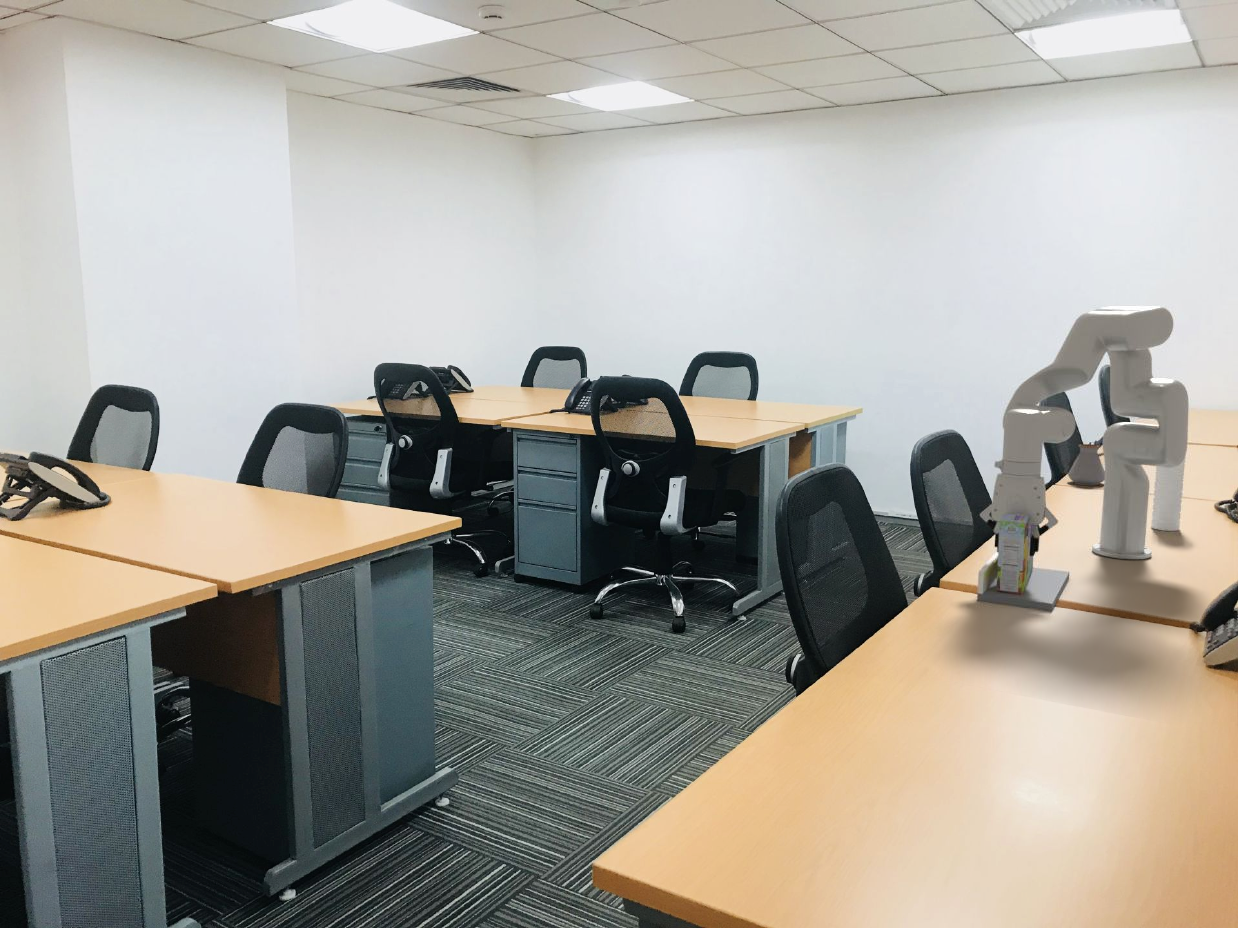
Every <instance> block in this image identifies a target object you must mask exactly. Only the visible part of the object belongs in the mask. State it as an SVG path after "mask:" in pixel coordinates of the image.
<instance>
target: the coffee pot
mask: <svg viewBox="0 0 1238 928" xmlns="http://www.w3.org/2000/svg"><path fill="white" fill-rule="evenodd" d="M1078 447H1079V450H1080V452H1079V454H1078V455H1077V457H1076V458H1075V460H1074V462H1073V464H1072V466H1071V468H1070V469H1069V471H1068V473H1067V475H1068V478H1069V479H1070V481H1072V482H1073V483H1074V484H1076V485H1080V486H1099V485H1100V484H1101V483H1104V480H1105V467H1104V466H1103V464H1102V460H1101V458H1100V457H1104V452H1100V453H1099V452H1098V451H1099V449H1100V448H1101V445H1098V444H1088V443H1085V444H1084V443H1083V444H1082V443H1081V444H1078Z"/></svg>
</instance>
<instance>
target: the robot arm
mask: <svg viewBox="0 0 1238 928" xmlns="http://www.w3.org/2000/svg"><path fill="white" fill-rule="evenodd" d="M1173 328H1174V318H1173V315H1172V313H1171V312H1170V311H1169V310H1168V309H1167V308H1165V307H1163V306H1130V305H1129V306H1125V305H1124V306H1105V307H1100V308H1097V309H1095V310H1092V311H1088V312H1085V313H1082V314H1080V316H1078V318H1076V320H1075V322H1074V323H1073V325H1072V326H1071V329H1070V330H1069V332H1068V334H1067V336H1066V338H1065V340H1064V341H1063V344H1062V346H1061V348H1060V349H1059V351H1058V353H1057V355H1056V356H1055V359H1054V360H1053V362H1052V363H1051V364H1049V365H1047V366H1046V367H1043V368H1042V369H1040V370H1039V371H1037V372H1036V373H1034V374H1033V375H1032V376H1030V377H1028V378H1027V379H1026V380H1025V381H1024V382H1022V383H1021V384H1020V385H1019V386H1018V388H1017V389H1016V390H1015V392H1014V393H1013V395H1012V397H1011V398H1010V400H1009V402H1008V404H1007V407H1006V409H1005V411H1004V413H1003V417H1002V429H1003V440H1002V441H1003V444H1002V445H1003V446H1002V459H1001V460H997V461H996V460H995V461H994V468H998V469H1000V472H999V473H997V476H996V477H995V478H996V479H995V482H994V486H993V487H994V488H993V493H992V494H993V495H992V502H991V504H989V505H988V506H987V507H986V508H985V509H984V510H983V511H981V512H980V513H979V516H980V518H981V519H982V520H983V521H984V522H985V523H986V524H987V525H988V526H989V528H990V529H991V530H992V531H993V533H994V534H995V535H994V548H996V552H998V547H999V521H1000V520H1001V518H1002V517H1003V515H1004V514H1018V515H1025V516H1029V518H1030V525H1031V530H1032V533H1033V534H1032V537H1031V538H1030V556H1033V557H1034V556H1035V555H1036V553H1038V552H1039V550H1040V549H1039V548H1040V536H1042V535H1044V534H1045V533H1046V532H1047V531H1049V530H1050V529H1052V528H1053V527H1055V526H1056V525H1057V524H1058V523H1059V520H1058V519H1057V518H1056V517H1055V515H1054V514H1053V513H1052V512H1051V510H1049V508H1047V501H1046V499H1047V497H1046V496H1047V495H1046V491H1047V490H1046V481H1045V476H1044V475H1041V474H1042V461H1043V460H1042V458H1043V457H1042V456H1043V447H1044V446H1043V445H1044V443H1050V444H1051V443H1052V444H1059V443H1062V442H1063V443H1064V442H1066V441H1067V440H1068V439H1070V438H1071V437H1072V435H1074V432H1075V430H1076V419H1075V417H1074V415H1073V413H1072V412H1070V411H1069V409H1068V410H1067V409H1065V408H1062V407H1056V406H1055V407H1054V406H1046V405H1039V404H1040V403H1041V402H1042V401H1044V400H1045V399H1047V398H1050V397H1052V396H1055V395H1057V394H1060V393H1064V392H1065V393H1066V392H1067V391H1071V390H1074V389H1076V388H1080V387H1082V386H1085V385H1087V384H1089V383H1090V382H1091V380H1092V379H1093V378H1094V376H1095V373H1096V371H1098V370H1097V369H1099V368H1098V367H1099V365H1100V364H1101V362H1102V360H1103V358H1104V356H1105V354H1106V353H1107V356H1108V359H1109V371H1110V376H1109V379H1110V381H1109V382H1110V383H1109V400H1110V402H1109V404H1110V408H1111V411H1112V413H1113V414H1114V415H1116V416H1119V417H1122V418H1128V419H1139V420H1148V421H1149V420H1150V421H1151V420H1152V421H1157V423H1158V424H1150V423H1142V422H1141V423H1140V422H1131V421H1130V422H1127V421H1125V422H1123V421H1122V422H1117V423H1113V424H1111V425H1110V426H1108V427H1107V428H1106V430H1105V431H1104V433H1103V436H1102V451H1103V452H1104V455H1103V458H1104V459H1103V460H1104V471H1105V480H1104V481H1103V495H1102V496H1103V497H1102V509H1101V510H1102V512H1101V522H1100V534H1099V535H1100V537H1099V542H1098V543H1094V544H1093V545H1092V548H1091V550H1092V552H1093V553H1095V554H1097V555H1101V556H1103V557H1106V558H1107V557H1108V558H1112V559H1113V558H1114V559H1122V560H1144V559H1145V560H1146V559H1149V558H1151V556H1152V550H1151V549H1150V548H1148V547H1145V545H1146V535H1147V524H1148V523H1147V522H1148V512H1149V511H1148V509H1149V500H1150V499H1149V497H1150V479H1149V477H1148V474H1147V472H1146V471H1145V469H1144V467H1143V466H1144V465H1145V466H1151V467H1156V466H1158V467H1176V466H1178V465H1180V464H1181V463H1182V462H1183V460H1184V458H1185V459H1186V456H1187V450H1188V440H1189V439H1188V438H1189V437H1188V436H1189V435H1188V433H1189V394H1188V391H1187V388H1186V387H1185V385H1184V384H1183V383H1182V382H1181V381H1179V380H1176V379H1172V378H1158V377H1156V378H1155V377H1154V376H1153V363H1152V362H1153V361H1152V360H1153V359H1152V353H1151V352H1150V349H1151V348H1154V347H1158V346H1161V345H1162V344H1165V343H1166V342H1167V341H1168V340H1169V338H1170V337H1171V335H1172V332H1173V330H1174V329H1173ZM1103 452H1102V453H1103ZM1045 518H1046V519H1047V521H1048V522H1046V523H1045V524H1043V525H1042V526H1041V527H1040V525H1041V524H1042V523H1043V522H1044V520H1045Z"/></svg>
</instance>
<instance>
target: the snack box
mask: <svg viewBox="0 0 1238 928" xmlns="http://www.w3.org/2000/svg"><path fill="white" fill-rule="evenodd" d="M1032 534H1033V533H1032V530H1031V525H1030V518H1029V516H1025V515H1018V514H1004V515H1003V517H1002V518H1001V520H1000V521H999V547H998V571H997V588H996V591H999V592H1008V593H1016V594H1022V593H1023V591H1024V588H1025V586H1026V583H1027V581H1028V579H1029V576H1030V574H1031V572H1032V569H1033V567H1034V556H1030V538H1031V537H1032Z"/></svg>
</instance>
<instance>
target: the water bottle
mask: <svg viewBox="0 0 1238 928" xmlns="http://www.w3.org/2000/svg"><path fill="white" fill-rule="evenodd" d="M1185 463H1186V457H1185V458H1184V460H1183V462H1182V463H1181V464H1180V465H1178V466H1176V467H1158V466H1155V468H1156V469H1155V481H1154V487H1153V488H1154V490H1153V498H1152V500H1153V502H1152V503H1153V504H1152V512H1151V513H1152V514H1151V517H1152V518H1151V524H1150V525H1151V529H1154V530H1157V531H1158V530H1159V531H1164V532H1165V531H1167V532H1176V531H1179V530H1180V524H1181V522H1180V519H1181V512H1182V501H1183V500H1182V498H1183V489H1184V488H1183V487H1184V483H1183V482H1184V476H1185V466H1186V464H1185Z"/></svg>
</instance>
